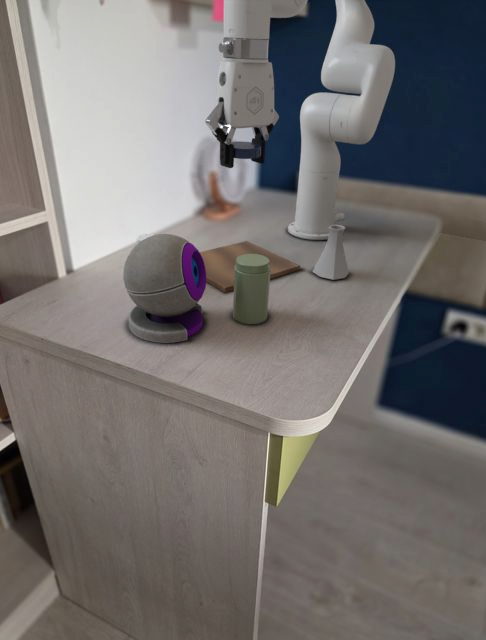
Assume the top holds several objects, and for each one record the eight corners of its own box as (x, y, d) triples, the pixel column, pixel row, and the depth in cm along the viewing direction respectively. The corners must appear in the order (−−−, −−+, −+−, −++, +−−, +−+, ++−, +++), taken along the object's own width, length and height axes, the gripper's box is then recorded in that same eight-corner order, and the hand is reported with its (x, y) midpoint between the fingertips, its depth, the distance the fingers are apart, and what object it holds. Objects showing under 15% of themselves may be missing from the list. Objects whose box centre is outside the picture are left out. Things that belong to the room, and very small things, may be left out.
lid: (247, 160, 87) (247, 150, 86) (217, 154, 90) (217, 144, 89) (267, 155, 92) (268, 145, 91) (238, 149, 95) (239, 139, 94)
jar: (246, 305, 90) (248, 250, 84) (273, 315, 87) (278, 259, 82) (225, 317, 86) (227, 260, 80) (254, 328, 83) (257, 269, 77)
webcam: (194, 347, 77) (192, 255, 69) (115, 337, 78) (105, 246, 70) (213, 310, 88) (214, 226, 80) (144, 301, 89) (138, 219, 81)
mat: (246, 244, 117) (246, 240, 116) (300, 269, 105) (300, 265, 104) (173, 262, 106) (173, 258, 105) (224, 292, 94) (224, 287, 93)
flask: (327, 264, 108) (333, 219, 103) (354, 274, 104) (362, 227, 99) (306, 272, 104) (311, 225, 99) (334, 283, 100) (341, 235, 94)
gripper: (217, 52, 75) (217, 174, 85) (299, 53, 85) (290, 163, 94) (189, 49, 80) (192, 165, 89) (269, 51, 90) (264, 156, 99)
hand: (242, 163), depth 92 cm, fingers closed on lid, 6 cm apart
